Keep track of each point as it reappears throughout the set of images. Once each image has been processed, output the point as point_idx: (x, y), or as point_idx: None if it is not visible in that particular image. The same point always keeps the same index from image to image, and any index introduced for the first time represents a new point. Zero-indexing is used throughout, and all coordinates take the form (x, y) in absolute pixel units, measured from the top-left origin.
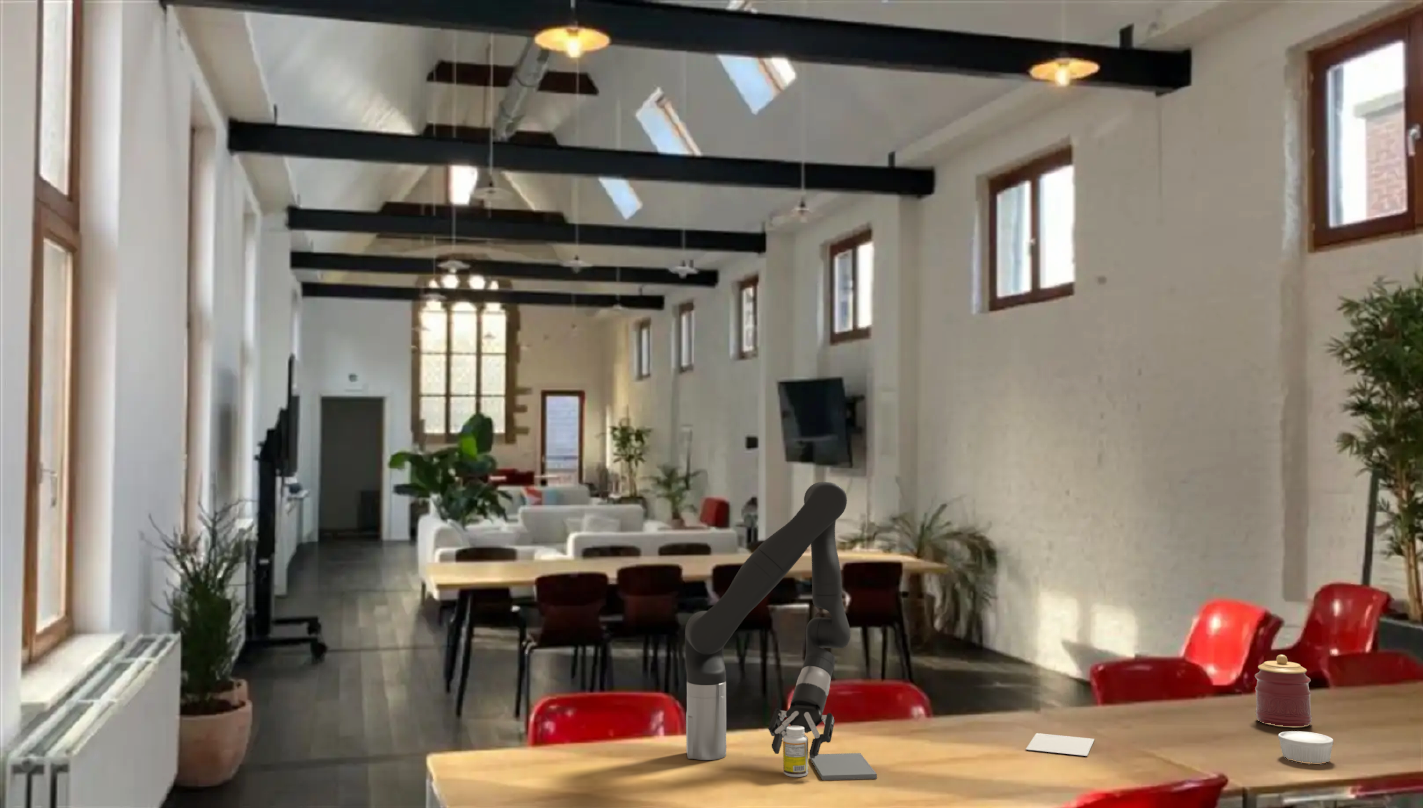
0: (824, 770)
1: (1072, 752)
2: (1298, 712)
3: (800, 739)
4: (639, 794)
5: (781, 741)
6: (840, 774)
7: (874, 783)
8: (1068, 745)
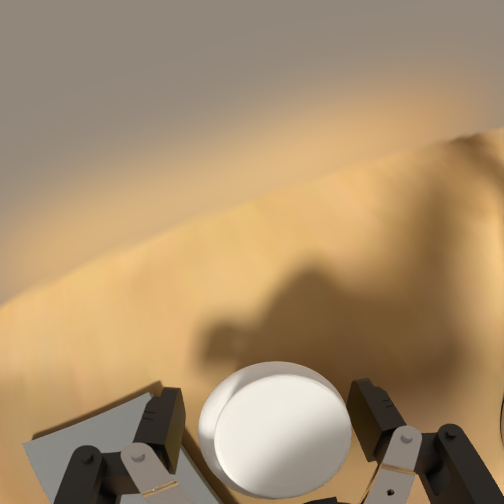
0: None
1: None
2: None
3: (223, 390)
4: (436, 151)
5: (366, 449)
6: (100, 421)
7: (26, 400)
8: None
